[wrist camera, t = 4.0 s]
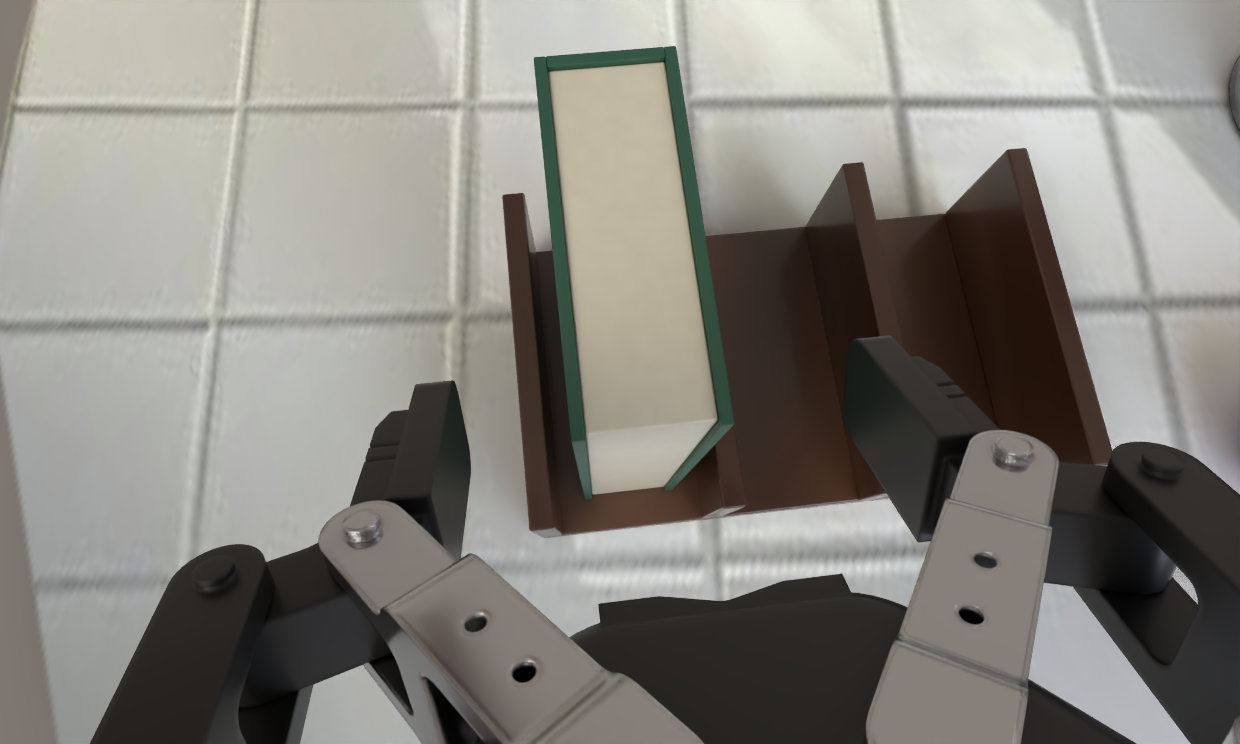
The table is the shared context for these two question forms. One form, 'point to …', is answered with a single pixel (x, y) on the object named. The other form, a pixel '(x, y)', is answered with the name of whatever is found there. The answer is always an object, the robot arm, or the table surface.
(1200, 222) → the table surface
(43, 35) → the table surface
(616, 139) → the book
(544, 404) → the rack
